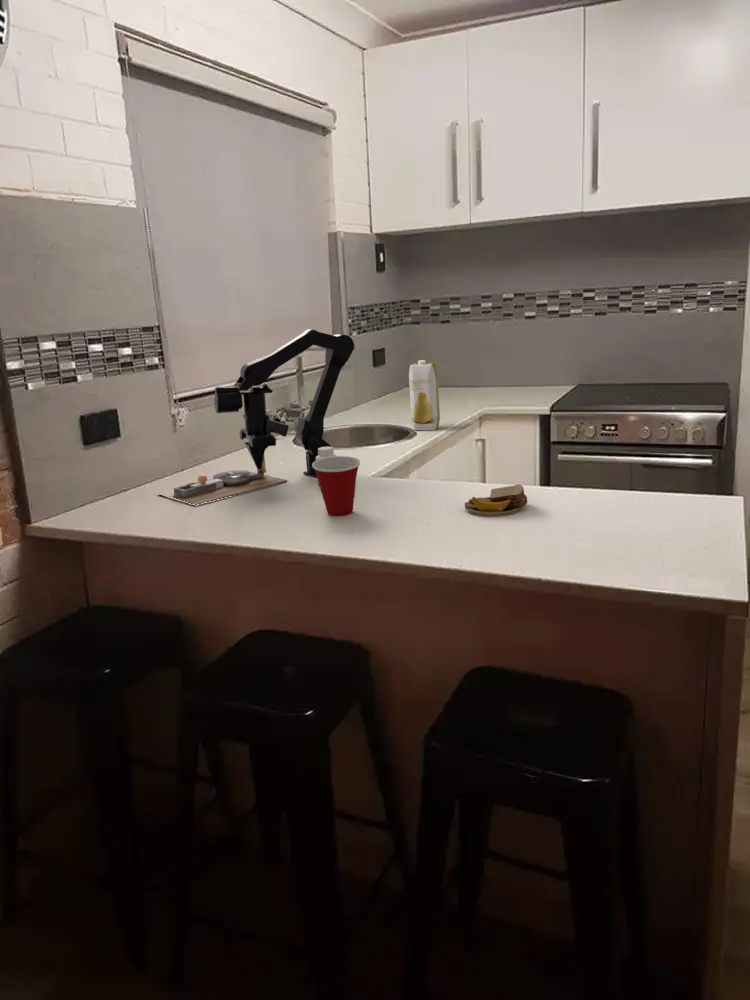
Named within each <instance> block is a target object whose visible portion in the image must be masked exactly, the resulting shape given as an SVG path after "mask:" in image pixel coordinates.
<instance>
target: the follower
mask: <svg viewBox="0 0 750 1000" xmlns="http://www.w3.org/2000/svg"><path fill="white" fill-rule="evenodd" d="M207 480H209V481H207ZM197 481H198V482H199V483H197V482H196V483H197V484H193V485H190V488H195V486H198V485H207V484H211V483H216V489H217V488H221V487H223V480H220V479H214V480H211V479H208V476H207V475H205V474H200V475H199V476H198V477H197Z"/></svg>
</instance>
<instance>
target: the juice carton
mask: <svg viewBox="0 0 750 1000" xmlns="http://www.w3.org/2000/svg"><path fill="white" fill-rule="evenodd" d="M408 381H409V382H408V383H409V398H410V400H409V401H410V415H411V426H412V428H413V431H415V430H423V431H436V430H437V429H438V428H439V426H440V421H441V419H440V418H441V414H440V413H441V411H440V409H441V408H440V391H439V390H440V388H439V387H440V386H439V372H438V367H437V364H436V362H428V363H427V362H426V360H425V359H420V360H417V363H416V362H415V363H412V364H410V366H409V371H408Z"/></svg>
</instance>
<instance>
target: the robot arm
mask: <svg viewBox="0 0 750 1000" xmlns="http://www.w3.org/2000/svg"><path fill="white" fill-rule="evenodd" d="M312 346H316V347H319V348H323V349H325V354H324V355H325V358H324V359H325V360H324V362H325V363H324V367H323V369H322V370H323V371H322V373H321V376H320V378H319V382H318V384H317V388H316V391H315V393H314V396H313V399H312V402H311V405H310V407H309V411H308V413H307V414H306V416H305V417H304V418H303V417H300V416H299V418H298V421H297V426H296V427H295V429H294V430H293V431H294V432H295V439H296V441H297V443H298V444H300V445H301V446H302V448H304V450H305V461H306V470H307V471H303V473H302V474H303V475H307V476H311V477H315V478H317V474H316V472H315V470H314V468H313V467H312V463H313V462H315V461H316V456H318V448H321V447H332V445H331V444H329V442H327V441H326V440H324V439H323V436H324V432H325V431H324V430H325V429H324V428H325V427H324V424H325V422H324V419H325V415H326V412H327V410H328V408H329V404H330V402H331V399H332V395H333V393H334V391H335V387H336V384H337V382H338V378H339V375H340V374H341V373H340V372H341V370H342V368H343V367H344V366H345V365H346V364H347V362H348V361H349V359H350V357H351V356H352V354H353V351H354V350H355V342H354V340H353V339H352V337H351V336H350V335H348V334H340V333H336V334H329V333H326V332H322V331H321V332H320V331H318V330H316V329H310V328H309V329H306V330H304V331H303V332H302V333H301V334H299V335H298V336H296V337H295V338H293V339H291V340H290V341H288V342H286V343H285V344H284V345H282V346H280V347H279V348H278V349H276V350H275V351H274V350H273V351H272V352H271V353H269V354H268V355H265V356H262V357H259V358H256V359H253V360H251V361H249V362H246V363H244V364H243V365H242V366H241V368H240V371H239V374H240V375H239V378H238V379H237V380H236V382H235V383H234V385H233V386H226V387H225V386H224V387H223V386H215V387H214V390H215V391H214V398H213V403H214V409H215V410H214V411H215V413H216V414H226V413H227V414H228V413H229V414H230V413H239V411H240V410H241V409H243V411H244V414H242V416H243V417H242V418H243V419H244V424H245V426H244V427H243V428H241V429H240V431H239V439H240V440H245V439H246V440H247V441H245V442H244V445H245V447H246V449H247V451H248V453H249V455H250V457H251V459H252V461H253V463H254V465H255V467H256V470H257V469H261V467H262V462H263V457H264V456H265V452H266V450H267V448H269V447H275V446H277V440H276V439H277V438H276V437H275V436H274V435H273V434H276V435H280V436H282V437H285V438H286V437H287V434H288V430H289V428H290V427H289V426H290V425H288V424H286V423H283V422H282V420H281V418H280V417H276V416H274V417H273V418H271V419H270V415H269V414H267V405H266V404H267V403H266V394H273V391H274V390H272V389H271V388H270V387H269V386H268V384H267V383H265V382H266V381H267V380H268V379H269V378H270V377H271V376H272V374H274V373H275V371H276V370H277V369H278V368H280V367H281V366H283V365H285V364H286V363H288V362H290V361H291V360H292V359H294V358H296V357H298V356H299V355H300V354H301V353H303V352H305V351H306V350H308V349H309V348H311V347H312ZM260 385H261V386H260ZM272 433H273V434H272Z"/></svg>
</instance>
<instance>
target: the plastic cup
mask: <svg viewBox="0 0 750 1000" xmlns="http://www.w3.org/2000/svg"><path fill="white" fill-rule="evenodd" d="M360 465H361V460H360V459H359V458H357V457H353V456H346V455H345V456H343V455H338V456H335V457H327V458H322V459H319V460H316V461H315V462H313V463H312V467H313V468H314V470H315V472H316V474H317V477H316V478H318V479H317V482H318V481H319V484H320V487H319V488H320V491H321V496H322V498H323V502H324V505H325V509H326V513H327V515H328V516H333V517H343V516H348V515H351V514H352V513H353V512H354V511H353V510H354V501H355V495H356V494H355V493H356V485H357V475H358V471H359V470H358V469H359V466H360Z"/></svg>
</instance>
